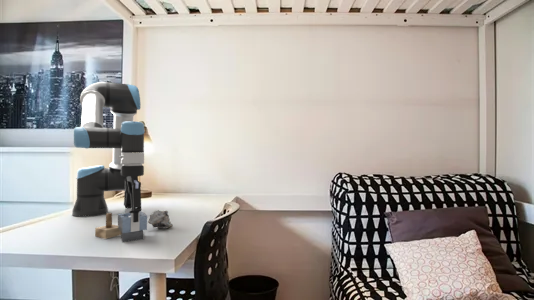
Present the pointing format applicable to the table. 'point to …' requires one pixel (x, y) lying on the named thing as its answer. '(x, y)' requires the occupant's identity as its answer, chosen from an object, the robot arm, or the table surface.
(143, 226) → the collar
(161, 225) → the mineral specimen
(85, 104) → the robot arm
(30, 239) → the table surface
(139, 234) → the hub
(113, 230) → the stand
